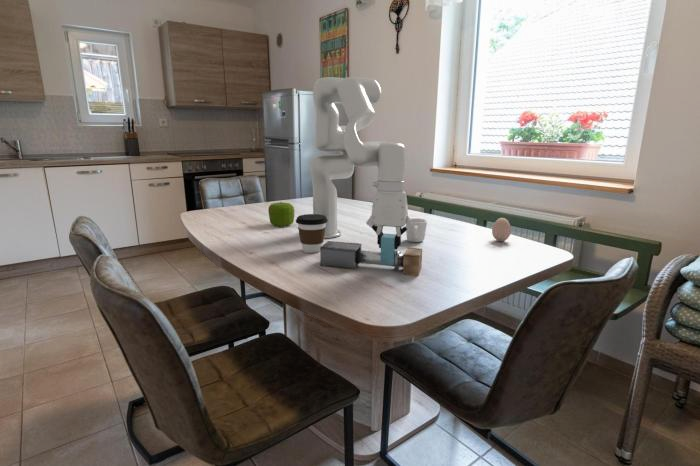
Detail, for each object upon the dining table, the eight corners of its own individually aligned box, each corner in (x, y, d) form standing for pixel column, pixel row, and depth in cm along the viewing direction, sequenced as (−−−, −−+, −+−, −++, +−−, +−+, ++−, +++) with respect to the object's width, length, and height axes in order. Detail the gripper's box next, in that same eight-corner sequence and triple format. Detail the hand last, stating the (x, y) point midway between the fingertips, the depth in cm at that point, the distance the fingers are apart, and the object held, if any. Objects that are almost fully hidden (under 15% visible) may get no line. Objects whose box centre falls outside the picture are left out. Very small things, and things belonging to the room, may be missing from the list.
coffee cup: (303, 256, 132) (302, 221, 129) (292, 248, 142) (291, 215, 139) (333, 252, 137) (332, 218, 134) (320, 244, 147) (320, 212, 144)
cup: (425, 246, 145) (426, 224, 143) (403, 245, 147) (404, 223, 145) (426, 238, 155) (427, 218, 153) (405, 237, 157) (406, 217, 155)
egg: (488, 241, 152) (490, 217, 150) (495, 238, 157) (497, 215, 154) (505, 244, 147) (507, 220, 145) (512, 241, 152) (514, 217, 150)
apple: (299, 224, 178) (298, 200, 175) (283, 229, 169) (282, 204, 167) (280, 221, 184) (279, 198, 181) (264, 226, 175) (262, 201, 172)
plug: (346, 267, 122) (346, 234, 120) (351, 261, 127) (352, 230, 125) (409, 273, 117) (410, 239, 114) (411, 267, 122) (413, 235, 120)
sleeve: (320, 266, 123) (320, 247, 122) (328, 258, 131) (328, 241, 129) (354, 269, 120) (354, 250, 119) (361, 261, 128) (361, 243, 126)
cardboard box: (402, 274, 117) (403, 254, 115) (406, 266, 124) (407, 247, 122) (418, 275, 115) (419, 256, 114) (421, 267, 122) (422, 248, 121)
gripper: (359, 187, 114) (358, 248, 119) (418, 189, 110) (415, 253, 114) (365, 184, 121) (364, 242, 126) (421, 186, 116) (418, 246, 121)
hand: (388, 246), depth 120 cm, fingers closed on plug, 4 cm apart
